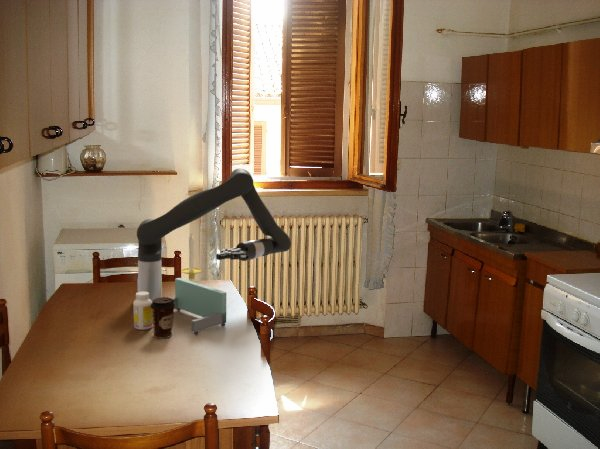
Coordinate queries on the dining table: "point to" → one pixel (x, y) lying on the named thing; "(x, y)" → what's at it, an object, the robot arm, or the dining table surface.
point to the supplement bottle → (142, 311)
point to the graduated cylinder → (191, 261)
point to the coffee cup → (162, 316)
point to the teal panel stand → (200, 304)
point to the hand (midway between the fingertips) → (217, 257)
